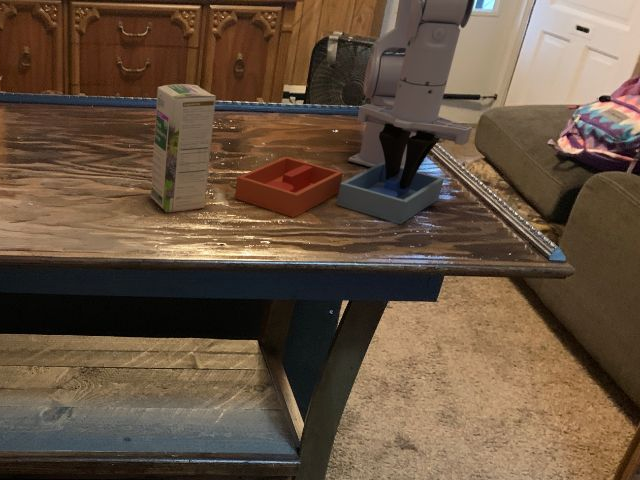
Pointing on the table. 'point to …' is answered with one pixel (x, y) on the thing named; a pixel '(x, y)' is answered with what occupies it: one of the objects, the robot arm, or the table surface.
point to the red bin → (283, 201)
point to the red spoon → (294, 179)
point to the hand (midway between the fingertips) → (397, 185)
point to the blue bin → (385, 206)
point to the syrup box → (182, 146)
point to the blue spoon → (392, 187)
